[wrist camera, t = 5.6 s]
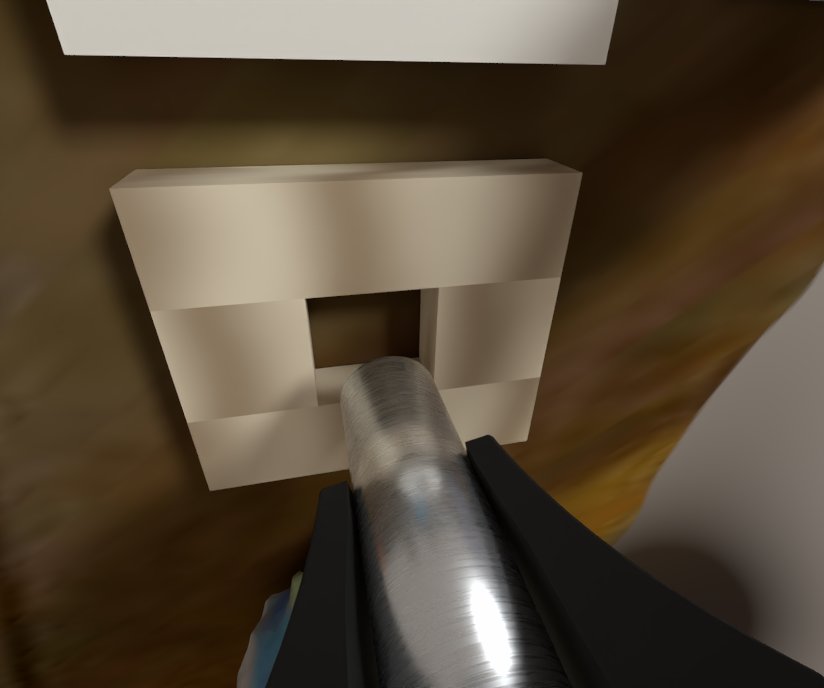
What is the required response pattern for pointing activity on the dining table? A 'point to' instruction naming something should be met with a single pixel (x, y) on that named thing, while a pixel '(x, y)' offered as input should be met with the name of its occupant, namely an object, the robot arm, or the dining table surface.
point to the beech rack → (344, 293)
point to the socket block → (341, 29)
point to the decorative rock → (268, 637)
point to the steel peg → (434, 545)
